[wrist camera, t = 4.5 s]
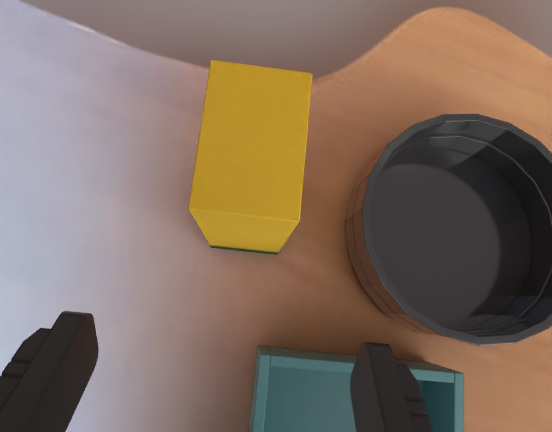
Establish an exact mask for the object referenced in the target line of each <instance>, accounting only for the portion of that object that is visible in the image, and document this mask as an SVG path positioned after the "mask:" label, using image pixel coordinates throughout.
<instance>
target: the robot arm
mask: <svg viewBox="0 0 552 432" xmlns="http://www.w3.org/2000/svg"><path fill="white" fill-rule="evenodd" d="M97 358H98V342H97V336H96V330H95V324H94V318H93V315H92V314H91V313H81V312H70V311H64V312H62V313H61V314H60V315H59V317H58V318H57V320H56V322H55V323H54V325H53V326H52V328H51V329H46V328H40V329H39V330H37V331H36V332H35V333H34V334H32V335H31V336H30V337H29V338H27V339H26V340H25V341H24V342H23V343H22V344H21V346H20V347H19V349H18V350H17V352H16V353H15V354H14V356H13V357H12V360H11V362H9V363H8V365H7V366H6V368H5V369H4V371H3V372H2V376H0V432H65V431H66V429H67V427H68V425H69V423H70V421H71V418H72V416H73V414H74V412H75V410H76V408H77V405H78V403H79V401H80V399H81V397H82V395H83V392H84V390H85V388H86V386H87V384H88V382H89V379H90V377H91V375H92V373H93V371H94V368H95V366H96V362H97ZM350 394H351V401H352V408H353V414H354V421H355V428H356V432H433V428H432V425H431V422H430V419H429V417H428V416H427V409H426V406H425V403H424V402H423V397H422V393H421V390H420V387H419V384H418V381H417V379H416V378H415V377H414V375H413V374H412V372H411V371H410V370H409V368H408V367H407V366H406V364H396V363H395V361H394V357H393V354H392V350H391V347H390V346H389V345H388V344H382V343H372V342H363V343H362V345H361V347H360V350H359V353H358V356H357V358H356V361H355V364H354V367H353V370H352V373H351V378H350Z"/></svg>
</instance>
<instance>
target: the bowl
mask: <svg viewBox="0 0 552 432" xmlns="http://www.w3.org/2000/svg"><path fill="white" fill-rule="evenodd" d="M345 222H346V223H345V228H346V238H347V249H348V254H349V258H350V260H351V263H352V265H353V268H354V270H355V272H356V275H357V277H358V279H359V282H360V284H361V285H362V287H363V289H364V290H365V291H366V292H367V293H368V295H369V296H370V297H371V298H372V299H373V301H374V302H375V303H376V304H377V305H378V307H379V308H380V309H381V310H382V311H383V312H384V313H385V314H386V315H388V316H390V317H391V318H393V319H394V320H396V321H397V322H399V323H400V324H402V325H403V326H405V327H407V328H408V329H410V330H411V331H413V332H417V333H421V334H425V335H428V336H432V337H436V338H439V339H443V340H448V341H454V342H460V343H465V344H470V345H476V346H488V345H501V344H515V343H518V342H521V341H523V340H525V339H527V338H529V337H531V336H534V335H536V334H538V333H540V332H542V331H544V330H547V329H549V328H550V327H551V326H552V153H551V152H550V151H549V150H548V149H547V148H546V147H545V146H544V145H543V144H542V143H541V142H540V141H539V140H537V139H535V138H534V137H532V136H531V135H529V134H527V133H526V132H524V131H522V130H521V129H519V128H517V127H516V126H514V125H512V124H510V123H508V122H504V121H501V120H497V119H494V118H490V117H486V116H483V115H479V114H444V115H440V116H437V117H435V118H432V119H429V120H426V121H423V122H420V123H418V124H415V125H413V126H411V127H409V128H408V129H407V130H406V131H404V132H403V133H402V134H401V135H399V136H398V137H397V138H396V139H394V140H393V141H392V142H391V143H389V144H388V145H387V146H386V147H385V148H384V149H383V151H382V152H381V153H380V154H379V155H378V156H377V157H376V158H375V159H374V161H373V162H372V163H371V164H370V165H369V166H368V167H367V168H366V170H365V172H364V173H363V175H362V177H361V178H360V180H359V181H358V183H357V185H356V186H355V188H354V189H353V191H352V194H351V198H350V202H349V207H348V211H347V216H346V220H345Z"/></svg>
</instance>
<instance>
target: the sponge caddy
mask: <svg viewBox="0 0 552 432" xmlns="http://www.w3.org/2000/svg"><path fill="white" fill-rule="evenodd" d="M357 356H358V355H349V354H339V353H329V352H318V351H308V350H297V349H287V348H276V347H266V346H258V347H257V356H256V366H255V376H254V385H253V395H252V404H251V414H250V424H249V432H356V428H355V421H354V414H353V408H352V401H351V394H350V378H351V373H352V370H353V367H354V364H355V361H356V358H357ZM394 361H395V363H396V364H406V366H407V367H408V368H409V370H410V371H411V372H412V374H413V375H414V377H415V378H416V379H417V381H418V384H419V387H420V390H421V393H422V397H423V402H424V403H425V406H426V409H427V416H428V417H429V419H430V422H431V425H432V428H433V432H464V374H463V373H461V372H457V371H454V370H451V369H448V368H445V367H442V366H439V365H436V364H432V363H429V362H423V361H412V360H402V359H394Z"/></svg>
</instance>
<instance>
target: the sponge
mask: <svg viewBox="0 0 552 432" xmlns="http://www.w3.org/2000/svg"><path fill="white" fill-rule="evenodd" d="M311 87H312V74H311V73H306V72H298V71H291V70H283V69H276V68H268V67H261V66H253V65H246V64H238V63H230V62H223V61H215V60H211V62H210V68H209V75H208V81H207V88H206V95H205V101H204V108H203V115H202V121H201V128H200V135H199V141H198V148H197V155H196V161H195V168H194V175H193V181H192V188H191V195H190V201H189V211H190V212H191V214H192V216H193V217H194V219H195V221H196V222H197V224H198V226H199V227H200V229H201V231H202V232H203V234H204V236H205V238H206V239H207V241H208V243H209V244H210V246H211V247H212V248H221V249H230V250H239V251H249V252H258V253H267V254H276V255H277V254H278V253H279V251H280V250H281V248H282V247H283V245H284V244H285V242H286V241H287V239H288V238H289V236H290V235H291V233H292V232H293V230H294V229H295V227H296V226H297V224H298V223H299V221H300V212H301V201H302V189H303V178H304V166H305V155H306V144H307V132H308V121H309V109H310V98H311Z"/></svg>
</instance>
